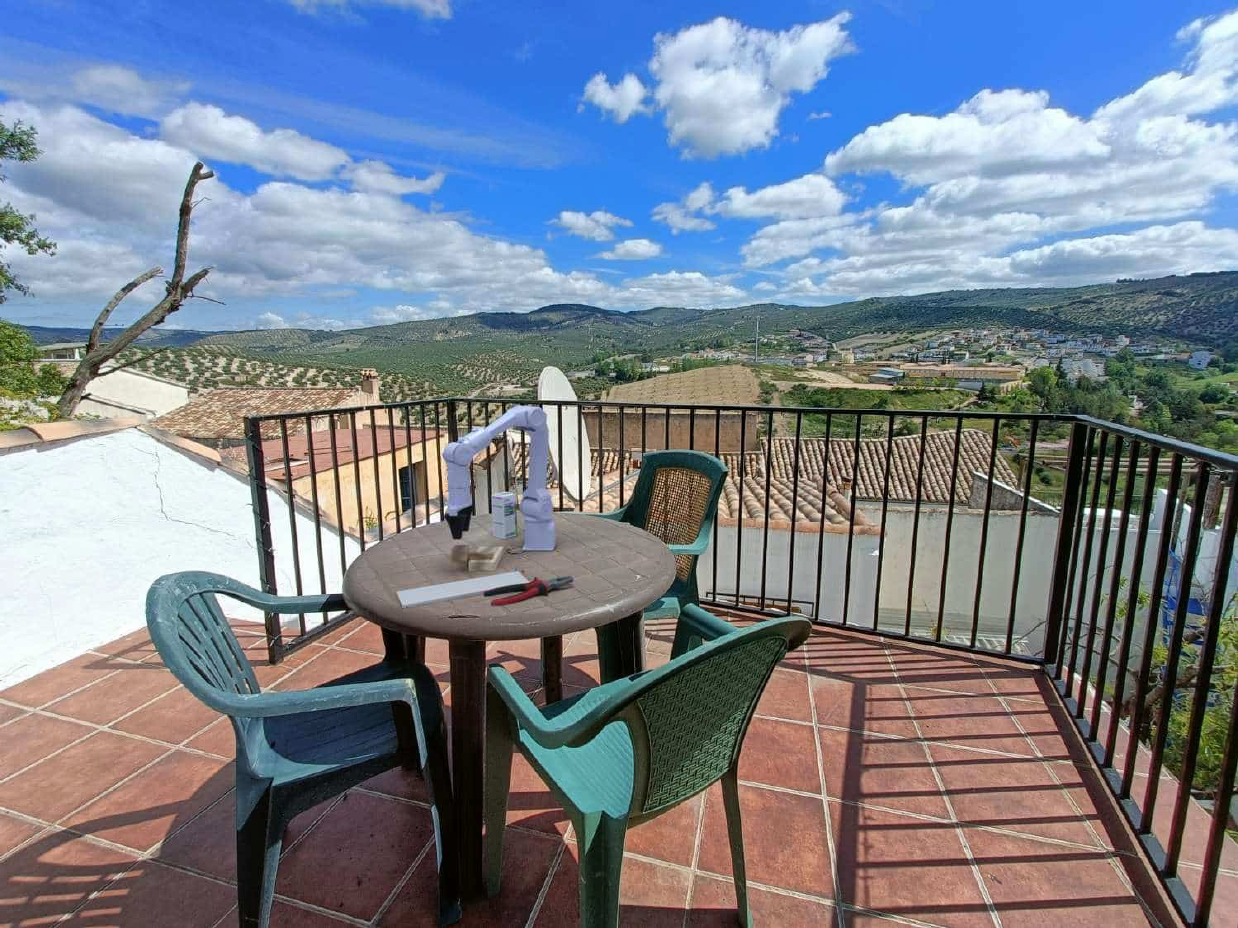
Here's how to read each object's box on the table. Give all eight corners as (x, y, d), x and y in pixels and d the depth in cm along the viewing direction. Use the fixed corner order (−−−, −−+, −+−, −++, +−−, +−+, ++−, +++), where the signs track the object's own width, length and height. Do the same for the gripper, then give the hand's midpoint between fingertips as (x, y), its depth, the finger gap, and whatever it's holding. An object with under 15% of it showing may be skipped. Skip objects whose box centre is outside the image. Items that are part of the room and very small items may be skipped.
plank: (503, 554, 171) (503, 546, 170) (494, 570, 157) (494, 561, 156) (480, 554, 170) (479, 546, 170) (468, 570, 157) (468, 561, 156)
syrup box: (504, 539, 186) (503, 496, 183) (492, 536, 189) (491, 493, 187) (517, 535, 190) (516, 493, 188) (505, 532, 194) (504, 490, 191)
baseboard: (395, 593, 142) (402, 611, 132) (394, 582, 141) (402, 599, 131) (515, 573, 157) (530, 587, 146) (514, 563, 156) (530, 577, 146)
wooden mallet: (495, 565, 161) (494, 544, 160) (492, 570, 157) (492, 549, 156) (455, 565, 161) (454, 545, 160) (452, 570, 157) (451, 549, 156)
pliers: (492, 599, 132) (578, 578, 142) (482, 587, 140) (565, 567, 150) (493, 611, 133) (579, 590, 143) (483, 598, 141) (565, 578, 151)
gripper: (451, 481, 162) (453, 527, 165) (436, 492, 148) (438, 542, 150) (476, 481, 163) (477, 527, 165) (463, 492, 148) (465, 542, 150)
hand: (460, 535), depth 158 cm, fingers open, 7 cm apart
